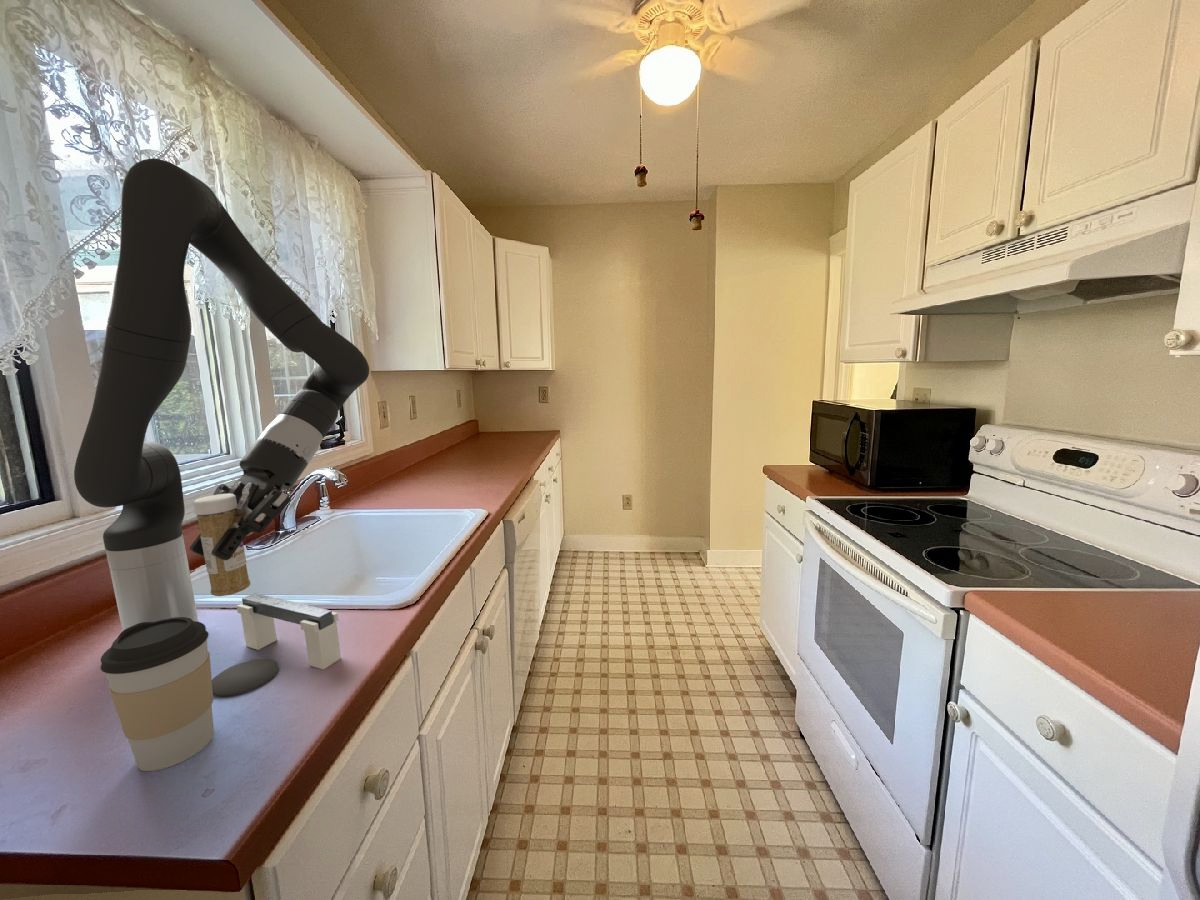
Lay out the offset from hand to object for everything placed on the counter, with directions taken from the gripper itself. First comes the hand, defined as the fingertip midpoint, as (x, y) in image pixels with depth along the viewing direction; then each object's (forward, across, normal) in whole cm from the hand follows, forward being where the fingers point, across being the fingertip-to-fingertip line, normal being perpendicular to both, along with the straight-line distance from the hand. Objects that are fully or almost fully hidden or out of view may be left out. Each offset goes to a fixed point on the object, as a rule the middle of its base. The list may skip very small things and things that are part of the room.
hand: (208, 554), depth 65 cm
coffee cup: (+21, +6, +7) cm, 23 cm away
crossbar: (+3, 0, +16) cm, 16 cm away
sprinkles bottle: (+3, 0, +6) cm, 6 cm away
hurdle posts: (+8, 0, +20) cm, 21 cm away
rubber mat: (+12, 0, +15) cm, 19 cm away
